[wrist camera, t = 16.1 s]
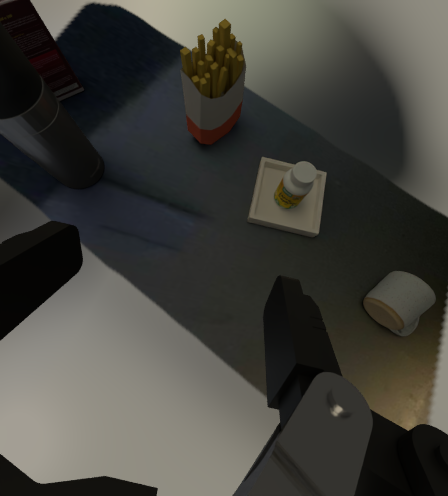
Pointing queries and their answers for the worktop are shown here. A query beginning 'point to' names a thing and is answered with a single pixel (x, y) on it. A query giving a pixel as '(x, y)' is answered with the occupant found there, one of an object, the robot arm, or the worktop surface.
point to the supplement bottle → (295, 185)
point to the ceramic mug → (399, 302)
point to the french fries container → (213, 84)
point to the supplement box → (39, 47)
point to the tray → (294, 220)
